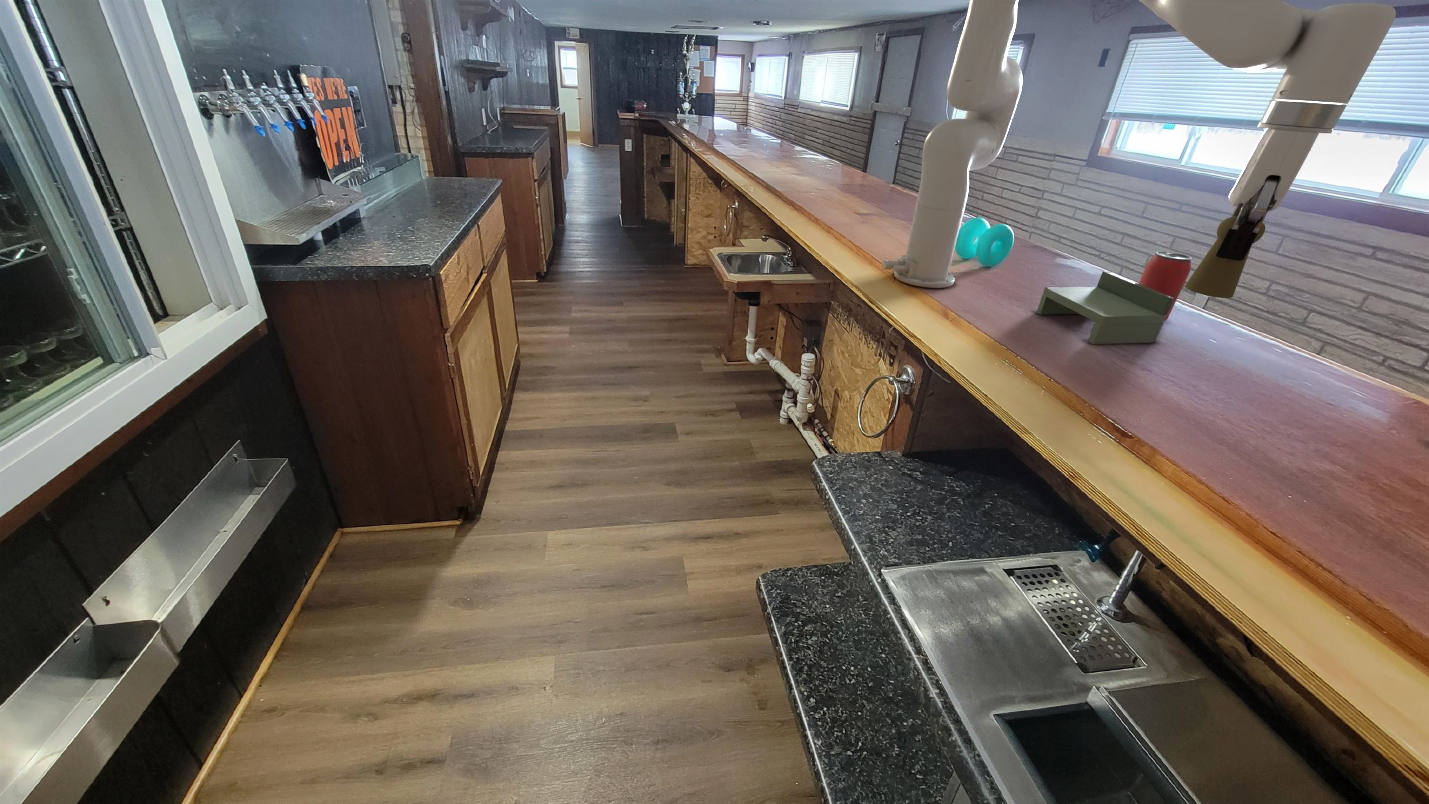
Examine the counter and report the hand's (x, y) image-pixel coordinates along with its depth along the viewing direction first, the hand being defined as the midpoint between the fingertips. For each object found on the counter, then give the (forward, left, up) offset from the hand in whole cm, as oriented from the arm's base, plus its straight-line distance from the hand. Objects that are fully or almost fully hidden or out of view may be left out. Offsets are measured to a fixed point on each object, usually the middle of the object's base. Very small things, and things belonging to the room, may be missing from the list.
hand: (1228, 253), depth 83 cm
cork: (0, 0, -6) cm, 6 cm away
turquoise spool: (-3, +54, -17) cm, 57 cm away
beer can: (+10, +17, -17) cm, 27 cm away
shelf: (-5, +13, -17) cm, 22 cm away
